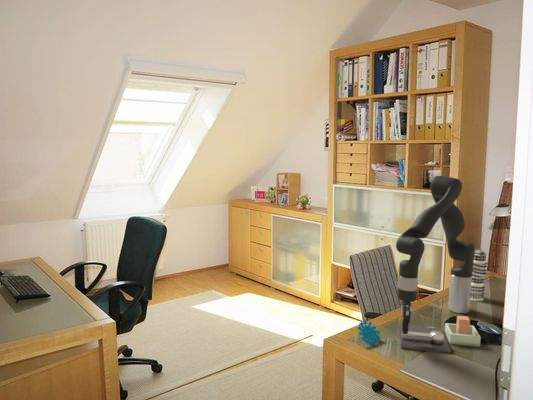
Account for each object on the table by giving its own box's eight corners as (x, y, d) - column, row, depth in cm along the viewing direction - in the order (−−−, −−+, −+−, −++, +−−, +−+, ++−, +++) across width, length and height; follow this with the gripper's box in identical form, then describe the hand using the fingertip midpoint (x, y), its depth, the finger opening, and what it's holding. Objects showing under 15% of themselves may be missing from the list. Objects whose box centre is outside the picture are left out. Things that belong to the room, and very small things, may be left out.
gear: (364, 344, 167) (356, 320, 173) (356, 350, 171) (348, 326, 177) (386, 343, 172) (377, 319, 178) (378, 349, 176) (369, 325, 182)
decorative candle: (481, 302, 220) (485, 253, 217) (462, 298, 226) (465, 250, 223) (486, 298, 227) (490, 250, 224) (468, 293, 233) (471, 247, 230)
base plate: (396, 327, 188) (396, 323, 188) (440, 331, 185) (440, 327, 184) (400, 348, 169) (400, 344, 169) (450, 353, 165) (450, 349, 165)
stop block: (455, 334, 180) (457, 315, 179) (466, 335, 179) (467, 316, 178) (457, 338, 176) (459, 319, 175) (468, 339, 175) (470, 320, 174)
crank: (442, 338, 173) (443, 317, 172) (444, 344, 169) (446, 322, 168) (401, 334, 177) (402, 313, 176) (402, 339, 172) (403, 318, 171)
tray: (444, 332, 184) (445, 323, 183) (472, 334, 182) (473, 325, 181) (449, 343, 173) (450, 334, 173) (479, 346, 171) (480, 336, 170)
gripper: (419, 293, 164) (416, 338, 166) (416, 282, 177) (413, 324, 180) (398, 291, 166) (395, 335, 168) (396, 281, 179) (394, 321, 181)
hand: (404, 329), depth 174 cm, fingers closed on crank, 2 cm apart
